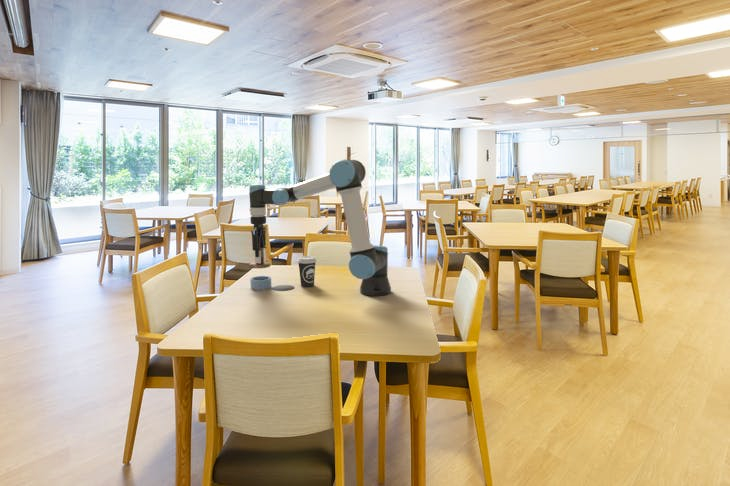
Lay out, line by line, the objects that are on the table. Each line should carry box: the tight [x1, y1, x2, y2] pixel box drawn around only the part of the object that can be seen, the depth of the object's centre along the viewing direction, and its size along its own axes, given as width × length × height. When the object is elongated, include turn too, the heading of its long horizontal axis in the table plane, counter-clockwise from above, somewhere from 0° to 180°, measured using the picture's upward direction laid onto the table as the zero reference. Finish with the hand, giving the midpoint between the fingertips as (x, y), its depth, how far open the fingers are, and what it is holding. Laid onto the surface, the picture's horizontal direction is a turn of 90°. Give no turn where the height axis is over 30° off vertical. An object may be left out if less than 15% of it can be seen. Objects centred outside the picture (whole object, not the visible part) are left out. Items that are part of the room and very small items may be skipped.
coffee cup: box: [297, 255, 317, 288], centre depth 240 cm, size 10×10×15 cm
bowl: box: [249, 275, 272, 291], centre depth 237 cm, size 10×10×5 cm
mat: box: [271, 284, 295, 292], centre depth 236 cm, size 11×11×1 cm
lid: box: [248, 247, 271, 269], centre depth 235 cm, size 10×10×9 cm
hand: (259, 262), depth 236 cm, fingers closed on lid, 4 cm apart
